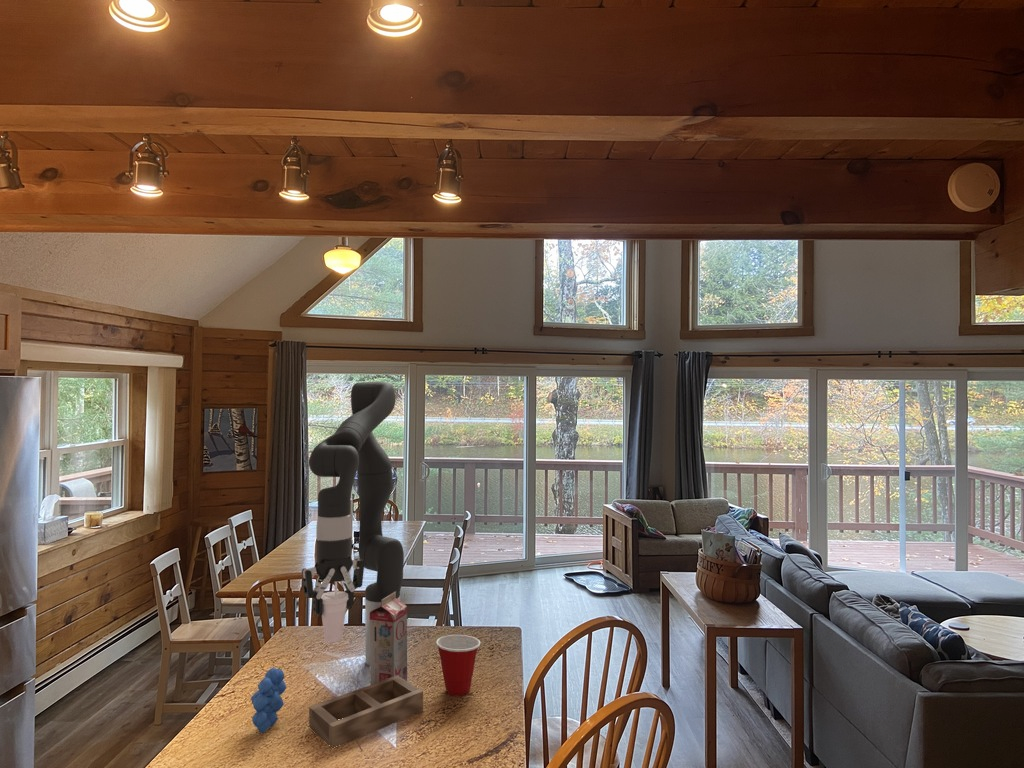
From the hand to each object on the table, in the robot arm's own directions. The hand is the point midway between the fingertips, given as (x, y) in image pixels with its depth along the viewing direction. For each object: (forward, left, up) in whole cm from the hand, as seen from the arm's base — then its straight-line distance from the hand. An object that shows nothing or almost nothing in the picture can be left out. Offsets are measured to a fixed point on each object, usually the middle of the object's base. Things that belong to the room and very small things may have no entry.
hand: (333, 611), depth 137 cm
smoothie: (0, 0, -6) cm, 6 cm away
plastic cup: (-29, +7, -24) cm, 38 cm away
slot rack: (-6, +4, -24) cm, 25 cm away
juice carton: (-18, -7, -24) cm, 31 cm away
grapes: (+12, -8, -24) cm, 28 cm away
